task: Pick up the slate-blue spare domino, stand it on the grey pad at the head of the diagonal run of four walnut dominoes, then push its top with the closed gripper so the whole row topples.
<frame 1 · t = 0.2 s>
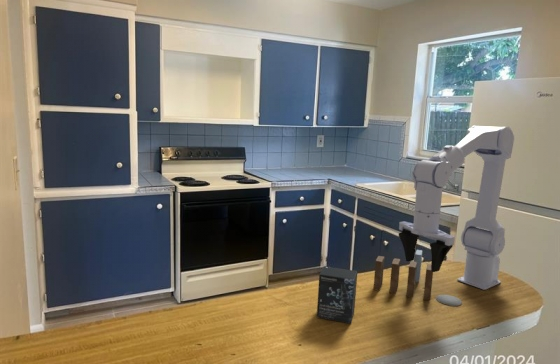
hand: (422, 265, 98), 10 cm above the counter, fingers open, 7 cm apart
domino 3: (410, 293, 105), on the counter
domino 4: (393, 290, 107), on the counter
domino 2: (427, 296, 104), on the counter
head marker: (448, 300, 102), on the counter
domino head: (416, 279, 115), on the counter
box: (335, 316, 92), on the counter
domino 5: (377, 286, 109), on the counter
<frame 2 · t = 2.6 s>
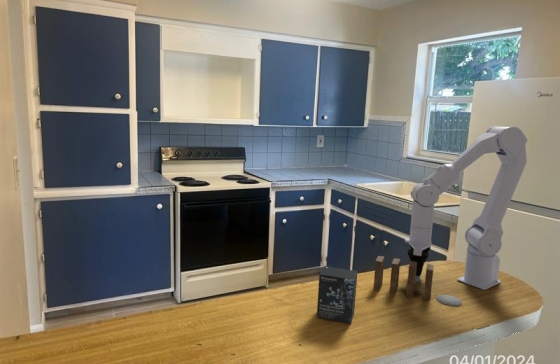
hand: (417, 272, 115), 2 cm above the counter, fingers closed on domino head, 4 cm apart
domino head: (416, 279, 115), on the counter, touching gripper
everything else where it was.
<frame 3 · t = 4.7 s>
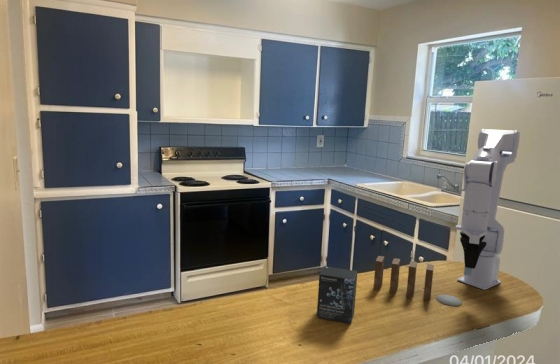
hand: (469, 264, 99), 10 cm above the counter, fingers closed on domino head, 4 cm apart
domino head: (467, 272, 99), point 8 cm above the counter, touching gripper
everything else where it was.
when the fingers open (3 cm above the counter, at t = 6.9 s): domino head stays where it is, resting on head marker.
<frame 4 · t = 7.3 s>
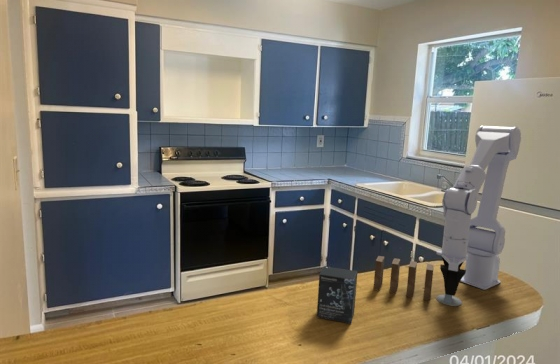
hand: (450, 288, 101), 3 cm above the counter, fingers open, 7 cm apart
domino head: (448, 299, 102), resting on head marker
everything else where it was.
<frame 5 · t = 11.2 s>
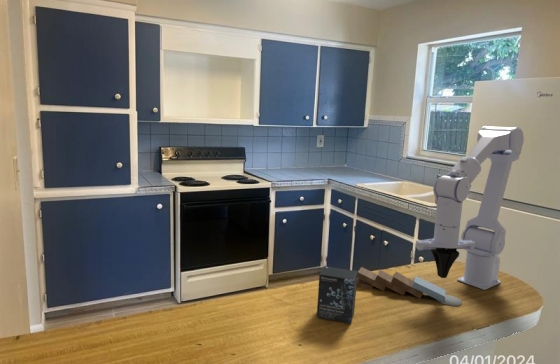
hand: (442, 276, 102), 6 cm above the counter, fingers closed
domino 3: (405, 289, 106), point 1 cm above the counter, tilted 70°, touching domino 2
domino 4: (386, 285, 108), point 1 cm above the counter, tilted 73°
domino 2: (421, 292, 104), point 1 cm above the counter, tilted 68°, touching domino 3, domino head
domino head: (444, 296, 102), point 1 cm above the counter, tilted 72°, touching domino 2, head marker
domino 5: (373, 285, 109), on the counter, tilted 90°
everything else where it was.
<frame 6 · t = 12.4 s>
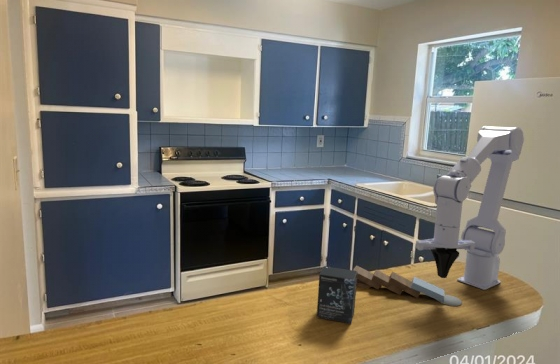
hand: (442, 276, 102), 6 cm above the counter, fingers closed
domino 3: (401, 289, 106), point 1 cm above the counter, tilted 70°, touching domino 2, domino 4
domino 4: (380, 284, 108), point 1 cm above the counter, tilted 72°, touching domino 3, domino 5
domino 2: (419, 292, 104), point 1 cm above the counter, tilted 69°, touching domino 3
domino head: (443, 295, 102), point 1 cm above the counter, tilted 74°, touching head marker
domino 5: (371, 285, 109), on the counter, tilted 90°, touching domino 4
everything else where it was.
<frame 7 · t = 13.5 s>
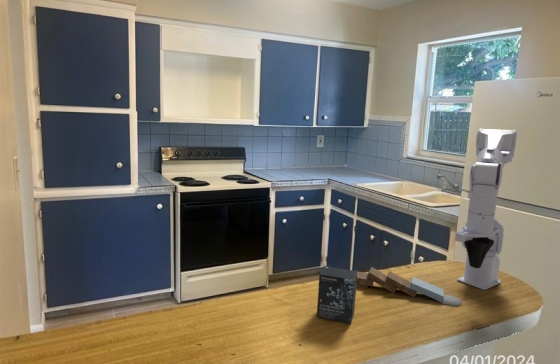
hand: (474, 266, 98), 10 cm above the counter, fingers closed
domino 3: (396, 287, 107), point 1 cm above the counter, tilted 66°, touching domino 2, domino 4
domino 4: (373, 280, 109), point 2 cm above the counter, tilted 90°, touching domino 3, domino 5
domino 2: (415, 291, 105), point 1 cm above the counter, tilted 69°, touching domino 3, domino head
domino head: (442, 295, 102), point 1 cm above the counter, tilted 76°, touching domino 2
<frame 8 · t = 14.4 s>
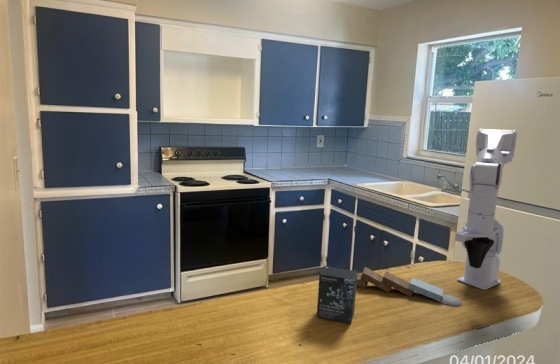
hand: (474, 266, 98), 10 cm above the counter, fingers closed
domino 3: (390, 286, 107), point 1 cm above the counter, tilted 68°, touching domino 2
domino 4: (366, 280, 109), point 2 cm above the counter, tilted 90°, touching domino 5
domino 2: (412, 290, 105), point 1 cm above the counter, tilted 71°, touching domino 3
domino head: (441, 295, 102), point 1 cm above the counter, tilted 78°, touching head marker
at the end: domino 5 tilted 90°; domino head inside the target area (1.6 cm from its centre), point 1.0 cm above the counter; the gripper is holding nothing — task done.
